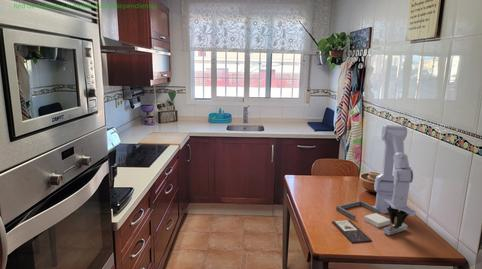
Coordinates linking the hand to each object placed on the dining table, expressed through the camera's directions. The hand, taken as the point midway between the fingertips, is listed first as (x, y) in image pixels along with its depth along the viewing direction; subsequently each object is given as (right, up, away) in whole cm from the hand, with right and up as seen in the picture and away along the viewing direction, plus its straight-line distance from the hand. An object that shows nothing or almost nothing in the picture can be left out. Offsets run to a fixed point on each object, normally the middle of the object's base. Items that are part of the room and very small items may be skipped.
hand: (396, 224), depth 144 cm
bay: (-10, +1, +19) cm, 22 cm away
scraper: (0, -3, +1) cm, 3 cm away
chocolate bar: (-20, -4, 0) cm, 20 cm away
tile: (-5, -2, +10) cm, 11 cm away
